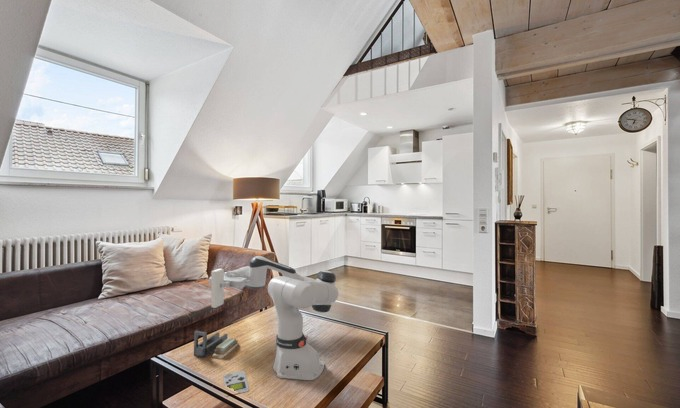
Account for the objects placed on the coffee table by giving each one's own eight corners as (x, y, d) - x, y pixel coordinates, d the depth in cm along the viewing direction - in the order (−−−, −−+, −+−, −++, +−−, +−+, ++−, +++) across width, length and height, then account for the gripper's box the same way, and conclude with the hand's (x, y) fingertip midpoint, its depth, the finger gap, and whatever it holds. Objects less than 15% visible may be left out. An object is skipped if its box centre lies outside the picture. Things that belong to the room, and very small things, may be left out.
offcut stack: (238, 345, 152) (238, 336, 152) (221, 359, 139) (222, 350, 138) (230, 344, 153) (230, 335, 153) (212, 358, 140) (212, 348, 140)
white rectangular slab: (223, 303, 154) (223, 268, 154) (215, 307, 149) (215, 271, 148) (219, 303, 155) (219, 268, 154) (211, 307, 149) (211, 271, 149)
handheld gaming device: (244, 369, 130) (249, 390, 116) (244, 371, 130) (249, 392, 116) (222, 374, 126) (225, 395, 113) (222, 375, 126) (225, 397, 113)
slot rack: (227, 341, 155) (227, 320, 155) (204, 357, 139) (205, 333, 139) (217, 339, 157) (217, 318, 156) (193, 355, 141) (194, 331, 141)
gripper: (251, 286, 162) (235, 294, 149) (219, 282, 168) (201, 289, 155) (251, 274, 162) (235, 281, 149) (219, 271, 168) (201, 277, 154)
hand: (217, 285), depth 152 cm, fingers closed on white rectangular slab, 2 cm apart
